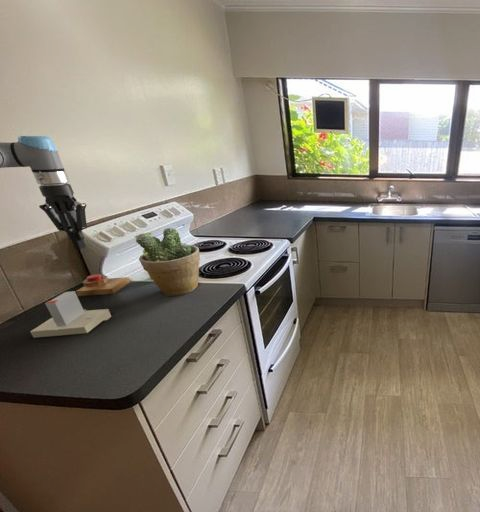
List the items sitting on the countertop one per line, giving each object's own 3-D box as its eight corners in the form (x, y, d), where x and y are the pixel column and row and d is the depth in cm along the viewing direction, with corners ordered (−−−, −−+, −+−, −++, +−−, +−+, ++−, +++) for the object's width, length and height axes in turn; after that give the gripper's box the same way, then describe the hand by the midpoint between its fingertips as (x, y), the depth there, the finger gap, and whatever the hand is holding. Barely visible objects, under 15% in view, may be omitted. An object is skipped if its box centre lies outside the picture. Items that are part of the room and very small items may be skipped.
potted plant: (170, 279, 121) (152, 222, 112) (216, 277, 123) (202, 221, 114) (140, 302, 105) (116, 237, 95) (194, 299, 106) (175, 235, 97)
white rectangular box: (76, 313, 92) (65, 291, 89) (84, 312, 93) (74, 290, 90) (56, 326, 86) (44, 302, 83) (66, 325, 86) (54, 302, 83)
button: (85, 282, 111) (83, 278, 110) (93, 278, 115) (91, 274, 114) (97, 281, 111) (95, 277, 111) (104, 277, 115) (103, 273, 114)
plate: (32, 341, 84) (27, 332, 83) (65, 319, 95) (61, 311, 93) (86, 336, 86) (82, 327, 85) (112, 315, 97) (109, 307, 96)
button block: (76, 296, 108) (72, 287, 107) (96, 284, 118) (92, 275, 116) (113, 293, 110) (109, 284, 109) (130, 281, 119) (127, 273, 118)
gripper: (21, 186, 94) (51, 252, 103) (66, 185, 96) (92, 250, 105) (42, 183, 101) (69, 245, 110) (84, 182, 103) (107, 244, 112)
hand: (80, 248), depth 108 cm, fingers closed
